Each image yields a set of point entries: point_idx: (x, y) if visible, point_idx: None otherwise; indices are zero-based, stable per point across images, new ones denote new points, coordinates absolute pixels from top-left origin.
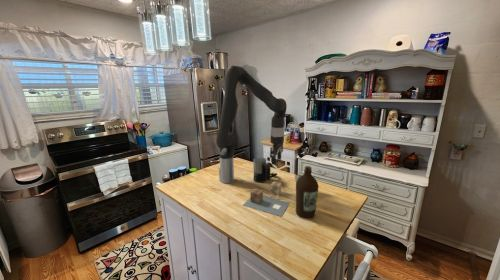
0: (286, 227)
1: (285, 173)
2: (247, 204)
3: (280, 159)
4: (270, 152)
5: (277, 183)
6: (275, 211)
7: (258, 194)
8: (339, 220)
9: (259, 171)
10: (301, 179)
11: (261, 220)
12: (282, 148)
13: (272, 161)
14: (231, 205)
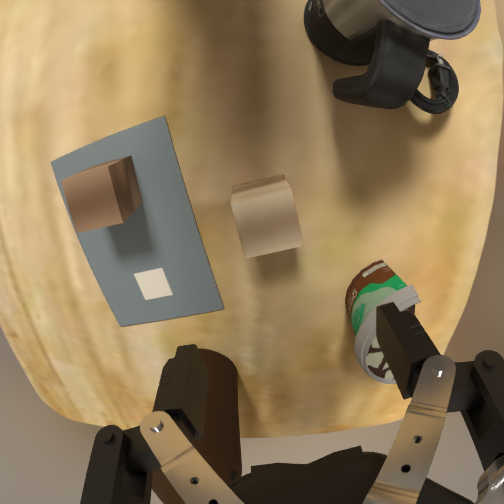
0: (99, 357)
1: (496, 127)
2: (67, 174)
3: (378, 342)
4: (84, 499)
5: (280, 228)
6: (124, 298)
7: (79, 232)
8: (244, 428)
9: (339, 19)
10: (157, 491)
11: (55, 287)
12: (480, 437)
13: (162, 387)
14: (23, 127)
